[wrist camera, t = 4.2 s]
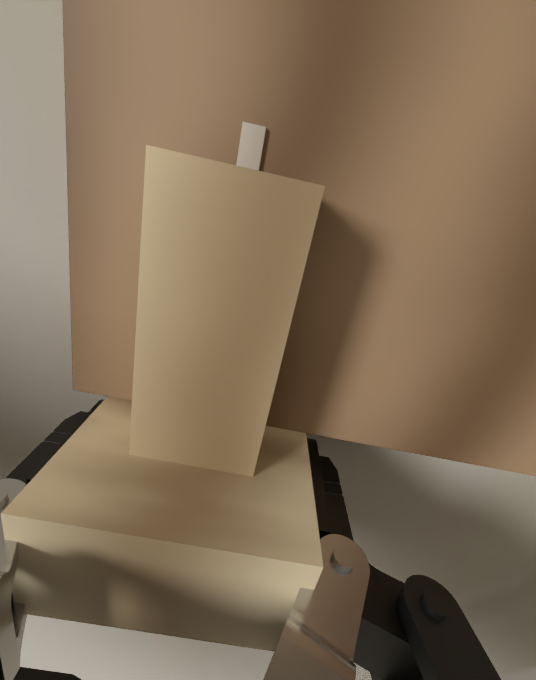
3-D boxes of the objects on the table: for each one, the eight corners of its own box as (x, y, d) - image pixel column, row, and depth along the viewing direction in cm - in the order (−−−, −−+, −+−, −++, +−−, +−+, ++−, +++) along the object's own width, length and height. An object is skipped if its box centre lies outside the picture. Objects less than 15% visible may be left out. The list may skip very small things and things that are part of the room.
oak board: (113, 354, 12) (70, 391, 9) (125, -118, 7) (51, -279, 5) (666, 461, 13) (755, 518, 10) (968, 108, 8) (1243, 68, 6)
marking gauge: (137, 425, 13) (15, 612, 7) (154, 162, 9) (-64, 78, 3) (283, 452, 13) (287, 653, 7) (352, 207, 10) (473, 203, 4)
